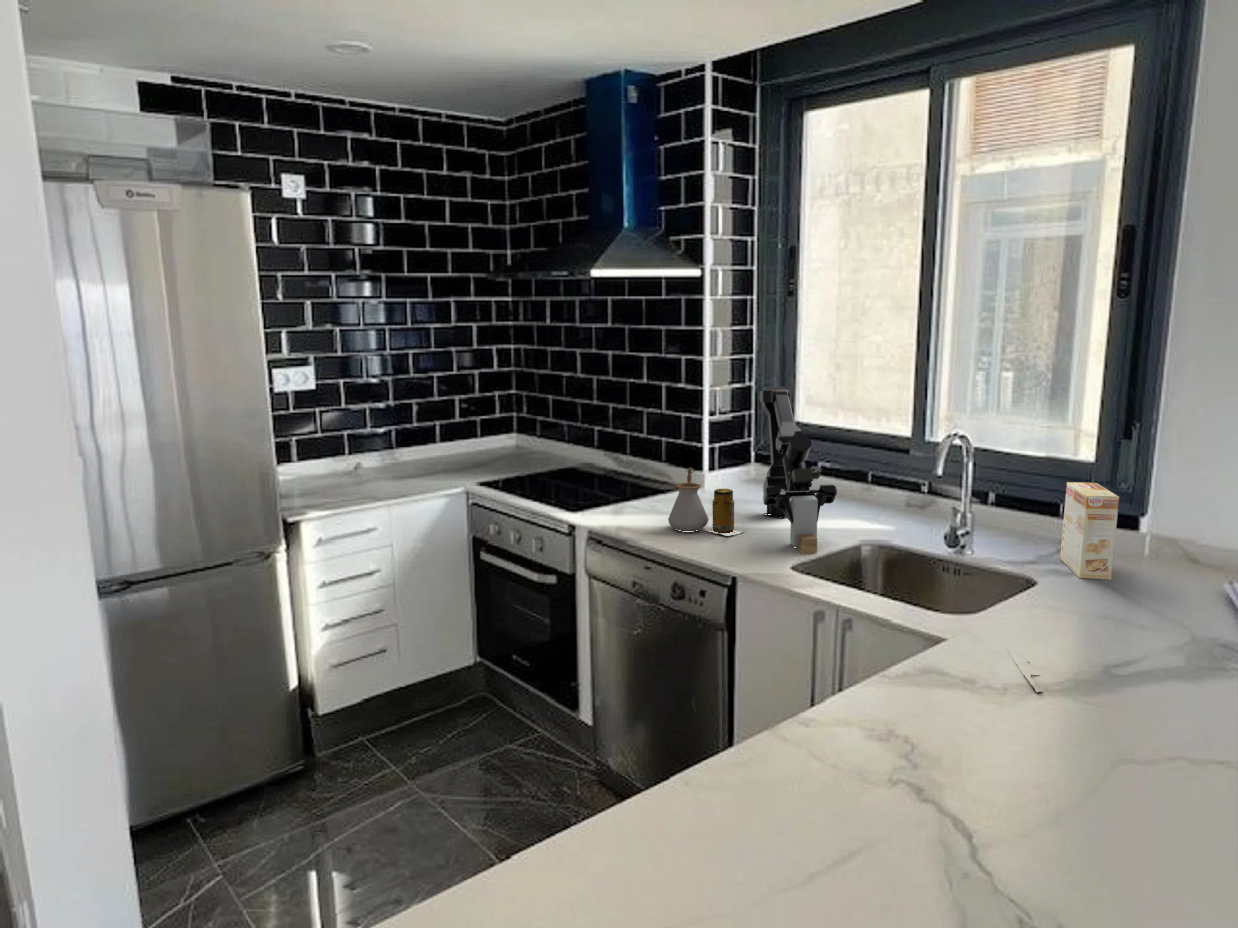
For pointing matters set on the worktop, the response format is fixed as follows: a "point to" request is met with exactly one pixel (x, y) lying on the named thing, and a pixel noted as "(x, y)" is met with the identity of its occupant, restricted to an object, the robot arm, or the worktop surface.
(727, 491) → the condiment
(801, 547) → the walnut cube
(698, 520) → the coffee pot
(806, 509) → the block
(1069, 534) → the coffeecake box
